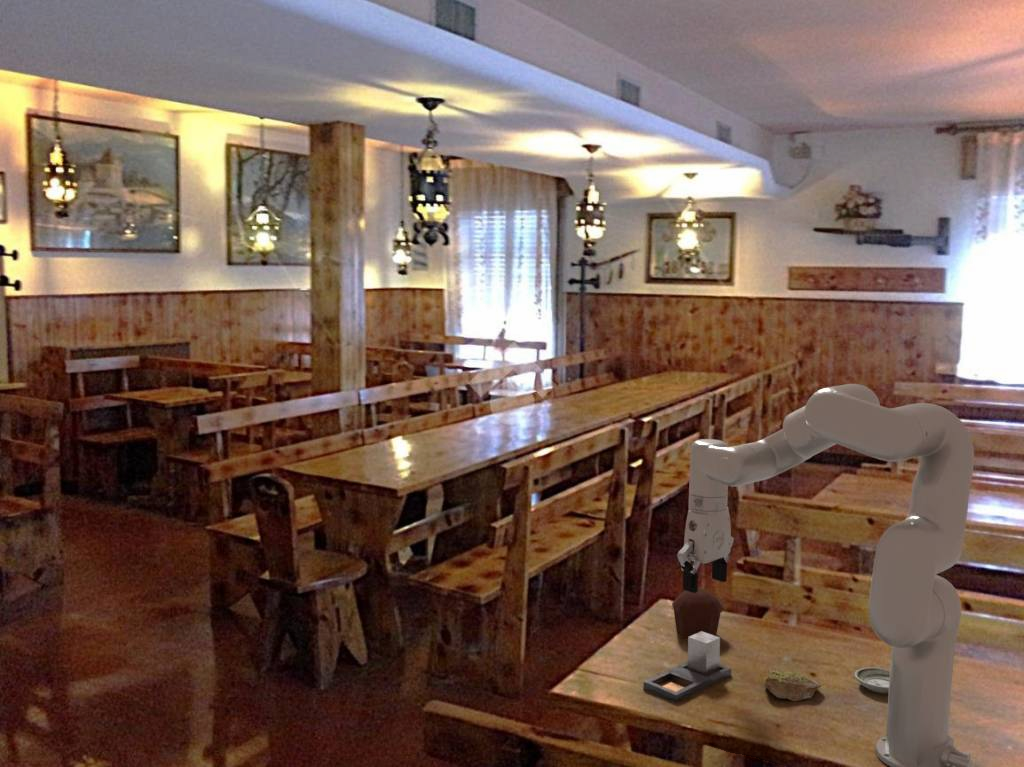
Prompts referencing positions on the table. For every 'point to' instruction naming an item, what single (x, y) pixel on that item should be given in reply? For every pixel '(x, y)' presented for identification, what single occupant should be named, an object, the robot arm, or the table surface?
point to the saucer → (874, 679)
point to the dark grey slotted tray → (683, 682)
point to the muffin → (696, 613)
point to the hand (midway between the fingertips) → (704, 585)
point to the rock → (790, 685)
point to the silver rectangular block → (703, 653)
